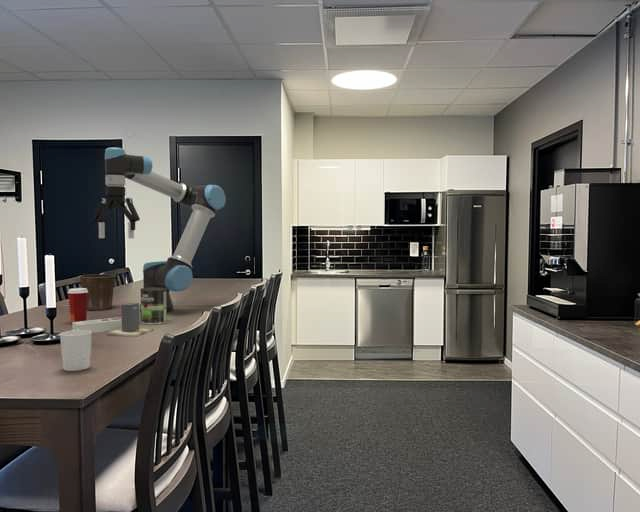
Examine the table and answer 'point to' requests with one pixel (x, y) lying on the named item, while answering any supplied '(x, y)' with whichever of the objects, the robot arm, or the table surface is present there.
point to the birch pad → (130, 334)
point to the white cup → (76, 349)
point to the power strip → (99, 325)
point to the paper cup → (78, 304)
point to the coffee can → (153, 305)
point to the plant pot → (98, 290)
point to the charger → (130, 317)
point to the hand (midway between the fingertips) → (116, 238)
